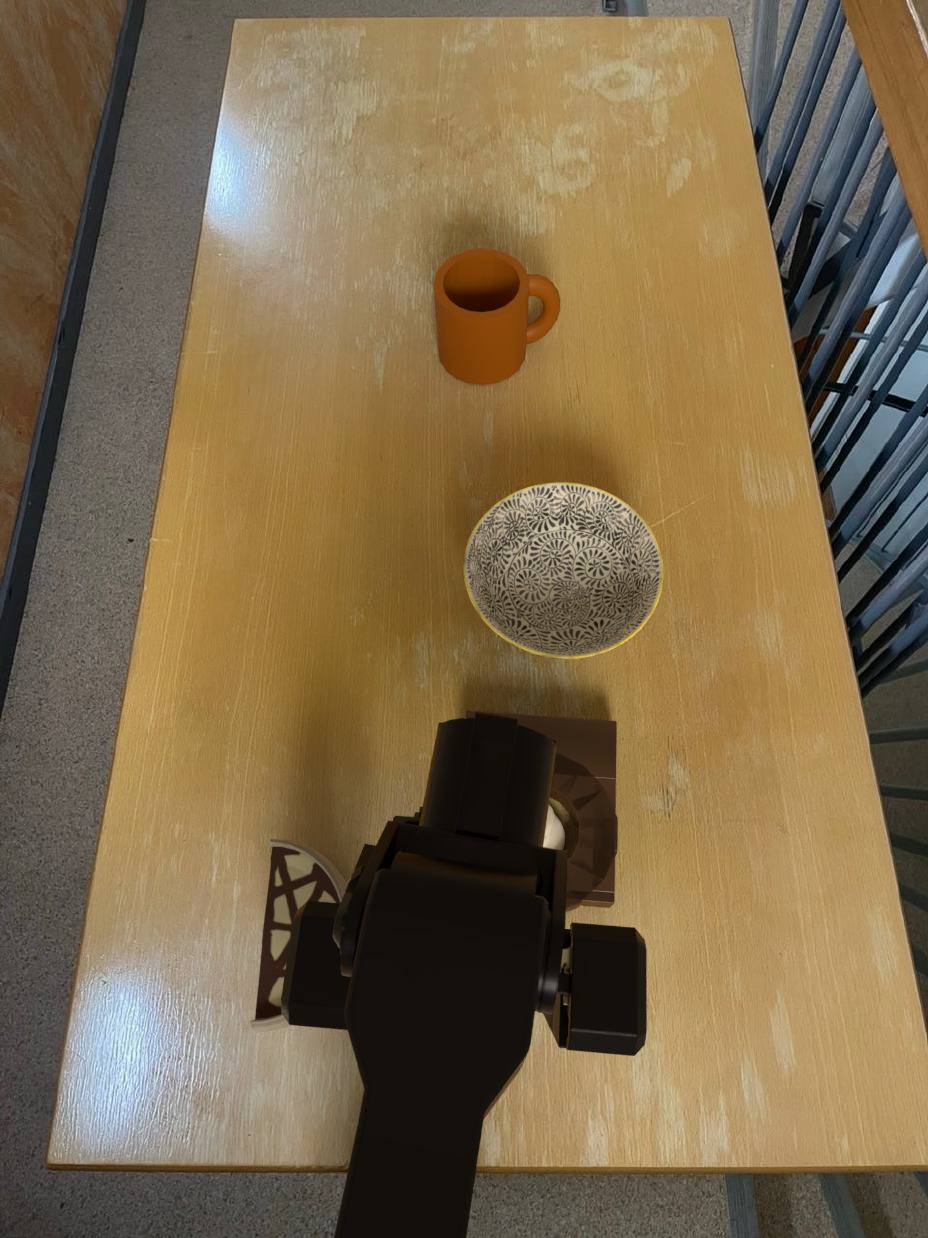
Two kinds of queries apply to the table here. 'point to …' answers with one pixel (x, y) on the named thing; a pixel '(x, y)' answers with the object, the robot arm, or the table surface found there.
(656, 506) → the table surface
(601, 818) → the holder
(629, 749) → the table surface
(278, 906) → the food container
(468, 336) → the mug
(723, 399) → the table surface
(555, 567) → the bowl
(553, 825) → the chess piece
